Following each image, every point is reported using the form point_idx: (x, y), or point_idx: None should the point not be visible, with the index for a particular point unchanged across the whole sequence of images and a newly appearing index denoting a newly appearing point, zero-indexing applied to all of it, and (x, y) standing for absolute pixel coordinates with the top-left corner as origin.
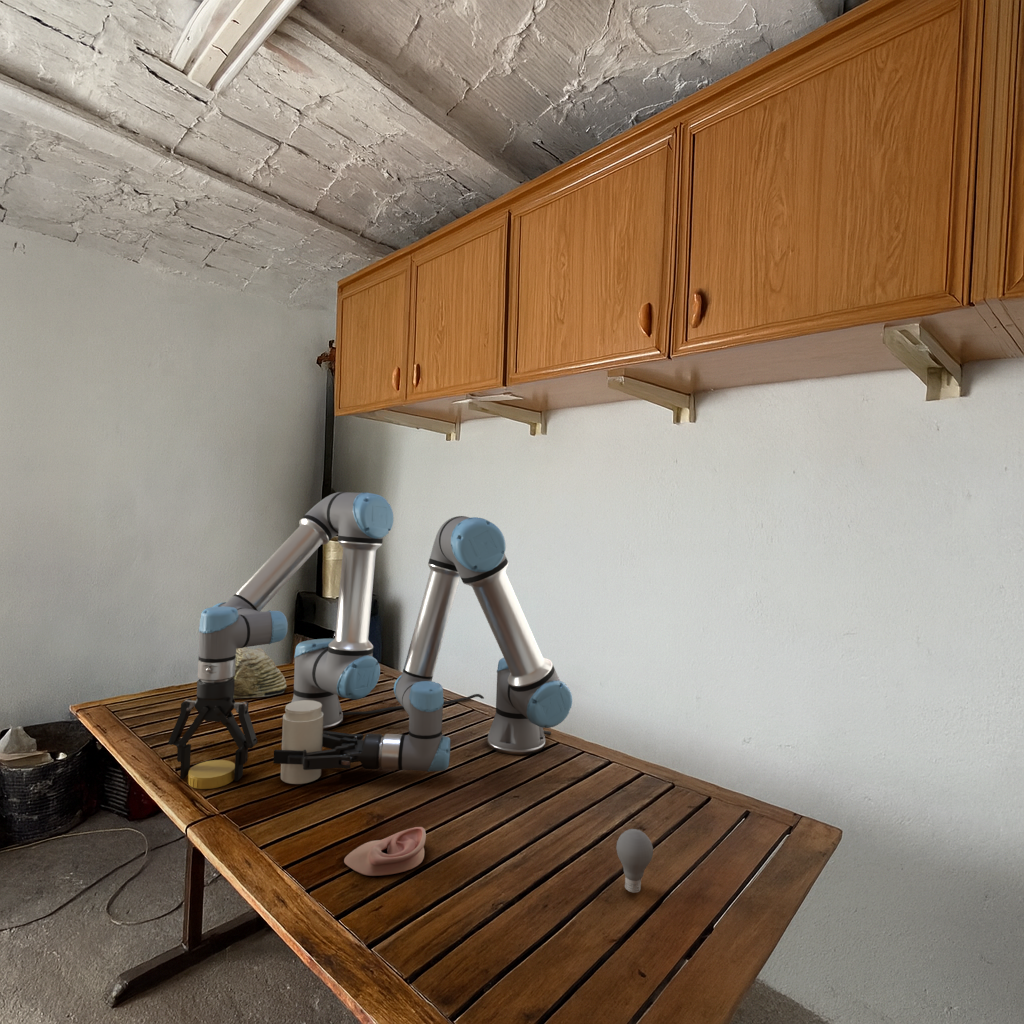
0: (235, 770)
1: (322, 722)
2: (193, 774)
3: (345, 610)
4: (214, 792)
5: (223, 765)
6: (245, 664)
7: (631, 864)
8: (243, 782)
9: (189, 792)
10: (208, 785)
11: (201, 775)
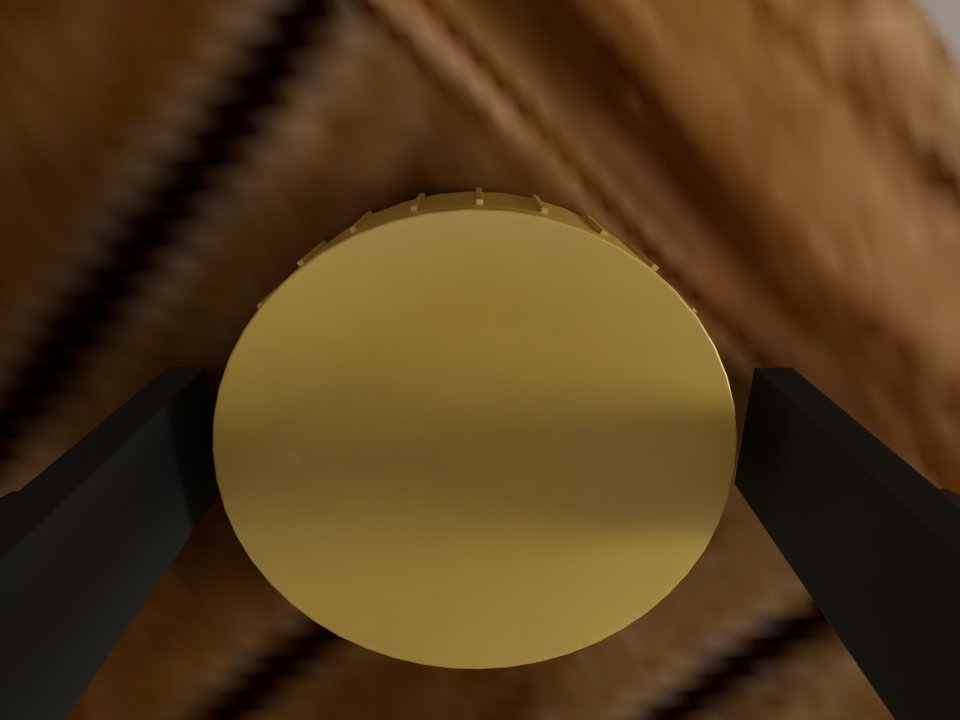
0: (137, 418)
1: None
2: (636, 303)
3: None
4: (298, 121)
5: (387, 555)
6: None
7: None
8: (130, 378)
9: (578, 98)
10: (404, 207)
11: (521, 283)
